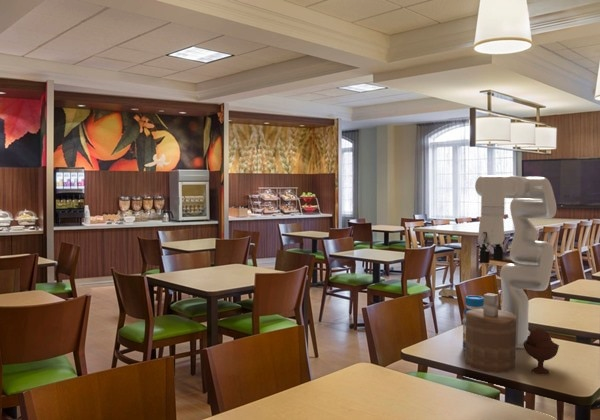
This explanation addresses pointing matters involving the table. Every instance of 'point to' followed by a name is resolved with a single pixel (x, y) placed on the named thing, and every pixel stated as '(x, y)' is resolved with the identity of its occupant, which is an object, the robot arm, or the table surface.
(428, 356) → the table surface
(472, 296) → the beverage bottle
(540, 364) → the ice cream bowl
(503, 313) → the walnut cover
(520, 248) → the robot arm
